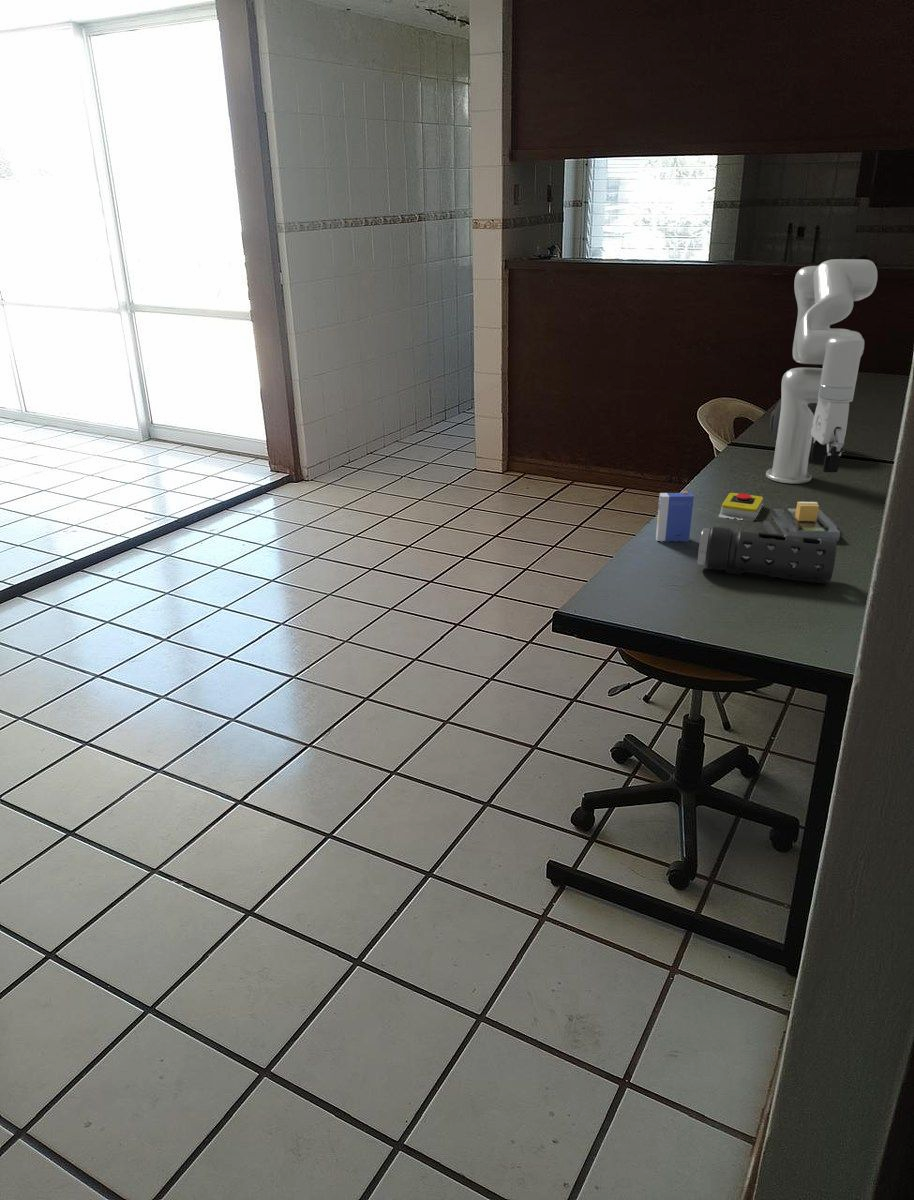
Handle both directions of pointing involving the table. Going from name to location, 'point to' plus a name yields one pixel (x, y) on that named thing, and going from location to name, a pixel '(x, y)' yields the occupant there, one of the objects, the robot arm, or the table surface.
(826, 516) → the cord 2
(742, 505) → the emergency button
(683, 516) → the walkman
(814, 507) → the cardboard box
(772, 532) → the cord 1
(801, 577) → the muzzle brake
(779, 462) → the robot arm
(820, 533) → the panel
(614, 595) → the table surface
